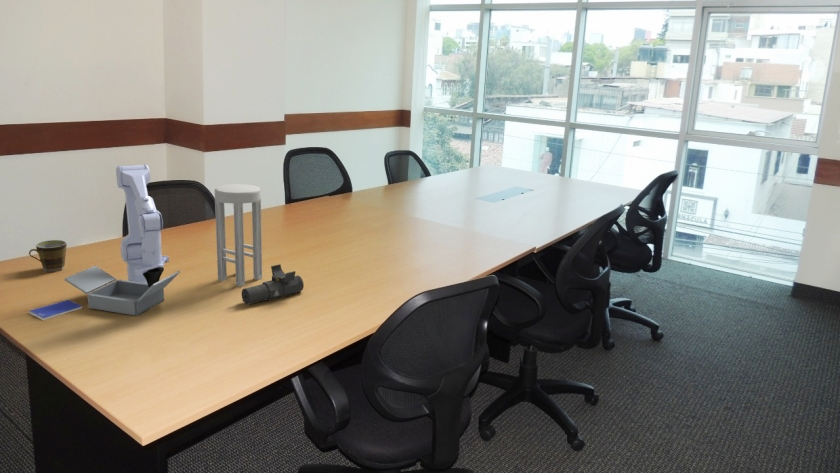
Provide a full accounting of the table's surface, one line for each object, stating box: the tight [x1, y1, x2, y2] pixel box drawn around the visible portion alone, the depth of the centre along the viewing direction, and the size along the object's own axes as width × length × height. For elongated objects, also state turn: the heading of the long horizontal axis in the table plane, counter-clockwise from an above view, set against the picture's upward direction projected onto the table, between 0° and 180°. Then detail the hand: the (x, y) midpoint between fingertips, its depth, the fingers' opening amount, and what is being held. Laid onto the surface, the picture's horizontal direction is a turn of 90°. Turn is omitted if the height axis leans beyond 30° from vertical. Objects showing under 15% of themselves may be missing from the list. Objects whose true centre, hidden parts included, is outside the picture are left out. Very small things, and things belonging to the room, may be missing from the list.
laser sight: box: [241, 264, 305, 306], centre depth 226 cm, size 10×22×10 cm, turn 135°
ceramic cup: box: [28, 239, 67, 273], centre depth 240 cm, size 13×10×10 cm
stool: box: [214, 183, 263, 287], centre depth 238 cm, size 16×16×35 cm
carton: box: [87, 279, 165, 317], centre depth 214 cm, size 15×18×5 cm
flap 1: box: [64, 265, 117, 295], centre depth 216 cm, size 14×9×1 cm, turn 166°
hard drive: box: [28, 299, 83, 321], centre depth 207 cm, size 2×8×12 cm
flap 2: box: [137, 270, 181, 302], centre depth 210 cm, size 14×9×1 cm
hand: (153, 289), depth 211 cm, fingers closed, pressing on flap 2
